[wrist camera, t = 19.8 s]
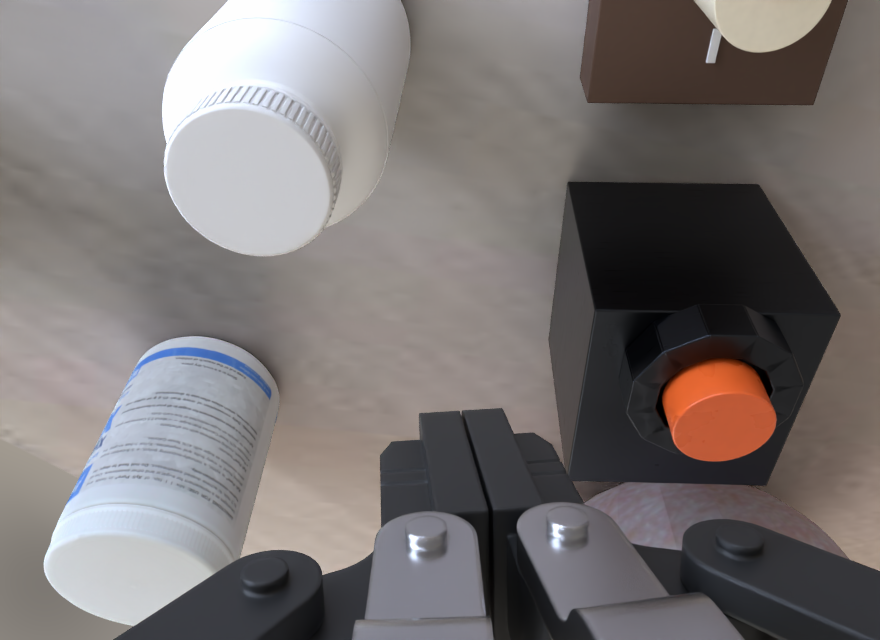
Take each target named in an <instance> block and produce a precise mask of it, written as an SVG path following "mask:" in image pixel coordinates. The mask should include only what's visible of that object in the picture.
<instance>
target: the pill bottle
mask: <svg viewBox="0 0 880 640" xmlns="http://www.w3.org/2000/svg"><path fill="white" fill-rule="evenodd" d="M410 51H411V40H410V29H409V24H408V19H407V15H406V12H405V9H404V7H403V4H402V2H401V0H229V1H228V2H227V3H226V4H225V5H224V6H223V7H222V8H221V9H220V10H219V11H218V12H217V13H216V14H215V15H214V16H213V17H212V18H211V19H210V21H209V22H208V23H207V24H206V25H205V26H204V27H203V28H202V29H201V30H200V31H199V32H198V33H197V34H196V35H195V36H194V37H193V38H192V39H191V40H190V42H189V43H188V44H187V45H186V46H185V47H184V49H183V50H182V51H181V53H180V54H179V55H178V57H177V59H176V60H175V62H174V64H173V65H172V67H171V70H170V72H169V74H168V77H167V80H166V84H165V88H164V95H163V106H162V119H163V128H164V134H165V138H166V142H167V145H166V148H165V149H166V151H165V153H164V157H165V159H164V162H163V164H164V165H165V166H164V173H165V175H164V177H165V180H166V185H167V188H168V190H169V194H170V196H171V198H172V200H173V202H174V204H175V205H176V207H177V209H178V210H179V212H180V213H181V215H182V216H183V217H184V218H185V220H186V221H187V222H188V223H189V224H190V225H191V226H192V227H193V228H194V229H195V230H196V231H198V232H199V233H200V234H201V235H203V236H204V237H205V238H207V239H208V240H210V241H212V242H213V243H215V244H217V245H219V246H221V247H223V248H225V249H228V250H231V251H234V252H237V253H241V254H245V255H251V256H276V255H282V254H287V253H289V252H293V251H295V250H298V249H300V248H302V247H303V246H306V245H307V244H308V243H309V242H312V241H313V240H314V238H316V237H318V236H319V233H321V232H322V231H323V230H324V228H326V227H329V226H331V225H333V224H335V223H337V222H339V221H341V220H343V219H344V218H346V217H347V216H349V215H350V214H351V213H353V212H354V211H355V210H356V209H357V208H359V207H360V206H361V205H362V204H363V203H364V202H365V201H366V200H367V199H368V197H369V196H370V195H371V194H372V192H373V191H374V189H375V188H376V186H377V184H378V182H379V180H380V178H381V176H382V173H383V171H384V168H385V165H386V162H387V158H388V154H389V149H390V145H391V141H392V136H393V132H394V127H395V123H396V118H397V114H398V110H399V105H400V101H401V96H402V92H403V87H404V83H405V78H406V74H407V70H408V65H409V60H410Z"/></svg>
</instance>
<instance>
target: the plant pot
mask: <svg viewBox="0 0 880 640" xmlns="http://www.w3.org/2000/svg"><path fill="white" fill-rule="evenodd" d="M584 504H585V505H587V506H591V507H593V508H596V509H598V510H600V511H602V512H604V513H606V514H607V515H608V516H610V517H611V518H612V519H613V520H614V521H615V522H616V524H617V525H618V526H619V528H620V529H621V530H622V532H623V533H624V534H625V536H626V537H627V538H628V540H629V541H630V543H634V544H638V545H642V546H649V547H657V548H665V549H674V550H682V539H683V534H684V533H685V531H686V530H687V529H688V528H689V527H690V526H692V525H694V524H696V523H698V522H701V521H706V520H712V519H731V520H739V521H745V522H749V523H753V524H756V525H759V526H762V527H765V528H767V529H770V530H772V531H775V532H778V533H780V534H783V535H786V536H788V537H791V538H794V539H796V540H799V541H801V542H804V543H807V544H809V545H812V546H815V547H817V548H820V549H823V550H825V551H828V552H830V553H833V554H836V555H838V556H841V557H844V558H846V559H849V558H848V557H847V556H846V555H845V553H844V552H843V551H842V550H841V549H840V548H839V546H838V545H837V544H836V543H835V542H834V541H833V540H832V539H831V538H830V537H829V536H828V535H827V534H826V533H825V532H824V531H823V530H822V529H821V528H820V527H818V526H817V525H816V524H815V523H814V522H812V521H811V520H810V519H808V518H807V517H805V516H804V515H802V514H801V513H799V512H798V511H796V510H795V509H793V508H791V507H790V506H788V505H787V504H785V503H783V502H782V501H780V500H779V499H777V498H775V497H774V496H772V495H770V494H768V493H766V492H764V491H762V490H759V489H756V488H753V487H749V486H746V485H718V484H678V483H637V482H626V483H623V484H621V485H619V486H616V487H614V488H611V489H609V490H607V491H604V492H602V493H599V494H597V495H595V496H594V497H592V498H591V499H589V500H588V501H586V502H585V503H584Z"/></svg>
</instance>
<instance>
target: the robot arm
mask: <svg viewBox="0 0 880 640" xmlns="http://www.w3.org/2000/svg"><path fill="white" fill-rule="evenodd" d="M419 431H420V440H410V441H394V442H391V443H390V444H389V446H388V447H387V448H386V449H385V450H384V452H383V453H382V454H381V455H380V472H381V474H380V476H381V529H380V530H379V531H378V533H377V535H376V538H375V544H374V551H373V552H372V553H371V554H370V555H369V556H368V557H366V558H365V559H364V560H362V561H360V562H358V563H357V564H355V565H352V566H350V567H348V568H345V569H342V570H339V571H335V572H332V573H328V574H325V575H322V571H321V568H320V566H319V565H318V563H317V562H316V561H315V560H314V559H312V558H311V557H309V556H307V555H305V554H302V553H299V552H295V551H288V550H271V551H264V552H259V553H255V554H251V555H248V556H245V557H242V558H240V559H238V560H236V561H234V562H232V563H230V564H229V565H227V566H225V567H224V568H222V569H221V570H219V571H218V572H216V573H215V574H213V575H212V576H210V577H209V578H207V579H206V580H204V581H202V582H201V583H199V584H198V585H196V586H195V587H193V588H192V589H190V590H189V591H187V592H186V593H184V594H183V595H181V596H180V597H178V598H176V599H175V600H173V601H172V602H170V603H169V604H167V605H166V606H164V607H163V608H161V609H160V610H158V611H157V612H155V613H153V614H152V615H150V616H149V617H147V618H146V619H144V620H143V621H141V622H140V623H138V624H137V625H135V626H134V627H132V628H131V629H129V630H127V631H126V632H125V633H123V634H121V635H120V636H118V637H117V638H115V639H114V640H880V571H878V570H875V569H873V568H870V567H867V566H865V565H862V564H859V563H857V562H854V561H851V560H849V559H846V558H844V557H841V556H838V555H836V554H833V553H830V552H828V551H825V550H823V549H820V548H817V547H815V546H812V545H809V544H807V543H804V542H801V541H799V540H796V539H794V538H791V537H788V536H786V535H783V534H780V533H778V532H775V531H772V530H770V529H767V528H765V527H762V526H759V525H756V524H753V523H749V522H745V521H739V520H731V519H712V520H706V521H701V522H698V523H696V524H694V525H692V526H690V527H689V528H688V529H687V530H686V531H685V533H684V534H683V539H682V550H674V549H665V548H657V547H649V546H642V545H638V544H634V543H630V541H629V540H628V538H627V537H626V536H625V534H624V533H623V532H622V530H621V529H620V528H619V526H618V525H617V524H616V522H615V521H614V520H613V519H612V518H611V517H610V516H608V515H607V514H606V513H604V512H602V511H600V510H598V509H596V508H593V507H591V506H587V505H585V504H584V503H583V501H582V499H581V497H580V495H579V493H578V492H577V490H576V488H575V486H574V484H573V482H572V481H571V479H570V477H569V475H568V474H566V470H565V468H564V466H563V464H562V462H560V459H559V457H558V455H557V453H556V451H555V449H554V448H553V446H552V444H550V443H549V442H547V441H546V440H544V439H543V438H541V437H540V436H538V435H536V434H535V433H519V434H514V433H513V431H512V429H511V426H510V424H509V422H508V420H507V417H506V415H505V413H504V411H503V409H502V408H497V409H480V410H464V411H462V414H460V411H449V412H432V413H419Z"/></svg>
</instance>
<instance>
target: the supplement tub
mask: <svg viewBox="0 0 880 640" xmlns="http://www.w3.org/2000/svg"><path fill="white" fill-rule="evenodd" d="M279 403H280V397H279V391H278V388H277V385H276V382H275V380H274V379H273V377H272V376H271V374H270V373H269V371H268V370H267V369H266V368H265V367H264V365H263V364H262V363H261V362H260V361H259V360H258V359H256V358H255V357H254V356H253V355H252V354H250V353H249V352H247V351H245V350H244V349H242V348H240V347H238V346H236V345H234V344H231V343H228V342H225V341H222V340H218V339H214V338H209V337H200V336H188V337H178V338H174V339H170V340H167V341H164V342H161V343H159V344H157V345H156V346H154V347H152V348H151V349H150V350H148V351H147V352H146V353H145V354H144V355H143V356H142V357H141V359H140V360H139V362H138V363H137V365H136V367H135V369H134V371H133V373H132V375H131V377H130V378H129V380H128V382H127V384H126V386H125V388H124V390H123V392H122V394H121V396H120V398H119V400H118V402H117V404H116V406H115V408H114V410H113V412H112V414H111V416H110V418H109V420H108V422H107V424H106V426H105V428H104V430H103V432H102V434H101V436H100V438H99V440H98V442H97V444H96V446H95V448H94V450H93V452H92V454H91V456H90V458H89V460H88V462H87V464H86V466H85V468H84V470H83V472H82V474H81V476H80V478H79V480H78V482H77V484H76V486H75V488H74V490H73V492H72V494H71V496H70V498H69V500H68V502H67V504H66V506H65V508H64V511H63V513H62V515H61V517H60V519H59V521H58V523H57V526H56V528H55V530H54V532H53V535H52V539H51V544H50V546H49V548H48V551H47V553H46V555H45V558H44V571H45V574H46V577H47V579H48V580H49V582H50V584H51V585H52V586H53V588H54V589H55V590H56V591H57V592H58V593H59V594H60V595H61V596H63V597H64V598H65V599H67V600H68V601H70V602H71V603H72V604H74V605H75V606H77V607H79V608H81V609H83V610H85V611H87V612H89V613H91V614H93V615H96V616H99V617H102V618H104V619H107V620H110V621H114V622H118V623H122V624H127V625H132V626H135V625H137V624H138V623H140V622H141V621H143V620H144V619H146V618H147V617H149V616H150V615H152V614H153V613H155V612H157V611H158V610H160V609H161V608H163V607H164V606H166V605H167V604H169V603H170V602H172V601H173V600H175V599H176V598H178V597H180V596H181V595H183V594H184V593H186V592H187V591H189V590H190V589H192V588H193V587H195V586H196V585H198V584H199V583H201V582H202V581H204V580H206V579H207V578H209V577H210V576H212V575H213V574H215V573H216V572H218V571H219V570H221V569H222V568H224V567H225V566H227V565H229V564H230V563H232V562H234V561H236V560H238V559H240V555H241V552H242V548H243V544H244V541H245V537H246V533H247V529H248V525H249V522H250V518H251V514H252V510H253V506H254V503H255V499H256V495H257V491H258V488H259V484H260V480H261V476H262V472H263V469H264V465H265V461H266V457H267V453H268V450H269V446H270V442H271V438H272V434H273V430H274V426H275V423H276V419H277V414H278V410H279Z"/></svg>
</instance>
